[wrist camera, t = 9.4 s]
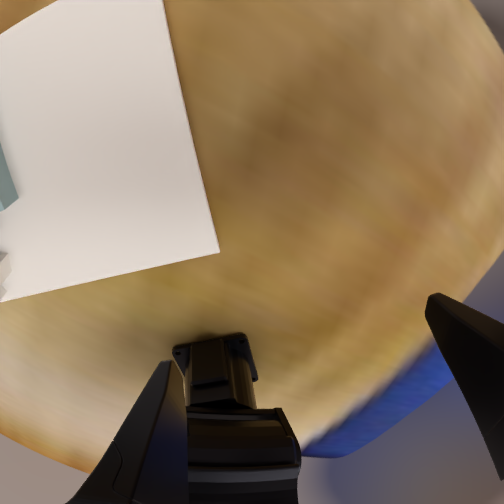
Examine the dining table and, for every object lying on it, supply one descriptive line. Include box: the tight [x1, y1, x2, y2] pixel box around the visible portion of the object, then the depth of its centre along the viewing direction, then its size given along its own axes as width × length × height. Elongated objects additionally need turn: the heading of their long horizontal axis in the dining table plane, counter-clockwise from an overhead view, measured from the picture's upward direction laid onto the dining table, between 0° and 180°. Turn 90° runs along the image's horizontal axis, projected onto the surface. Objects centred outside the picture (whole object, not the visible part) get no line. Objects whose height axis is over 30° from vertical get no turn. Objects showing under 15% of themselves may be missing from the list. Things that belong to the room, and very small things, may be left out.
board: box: [0, 0, 220, 302], centre depth 16 cm, size 19×24×1 cm
